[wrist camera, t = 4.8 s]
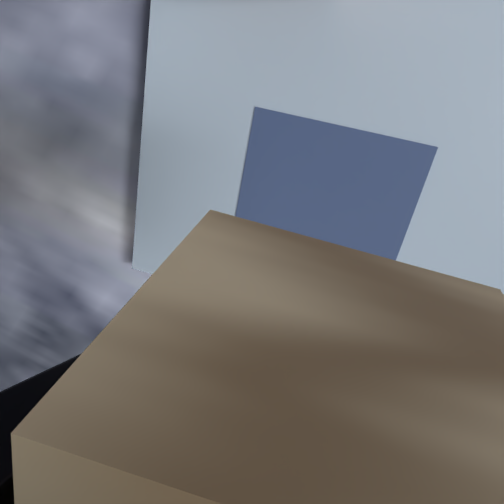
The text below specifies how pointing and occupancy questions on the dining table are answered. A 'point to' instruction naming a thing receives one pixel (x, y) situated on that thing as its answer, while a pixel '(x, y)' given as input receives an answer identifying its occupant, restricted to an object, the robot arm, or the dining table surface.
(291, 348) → the maple block
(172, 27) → the build board
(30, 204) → the dining table surface
